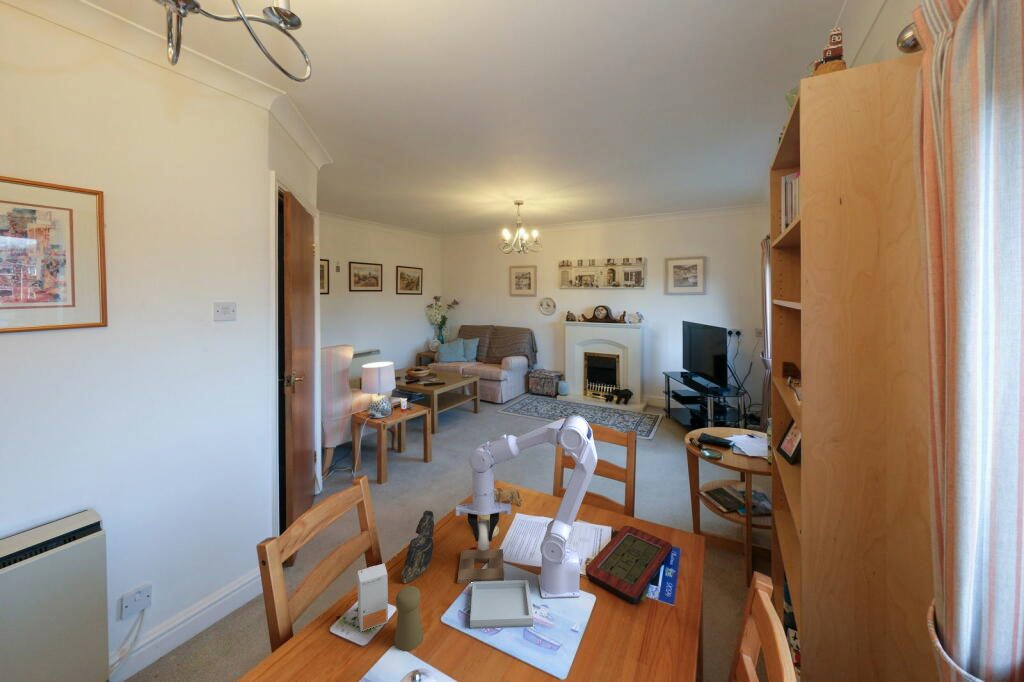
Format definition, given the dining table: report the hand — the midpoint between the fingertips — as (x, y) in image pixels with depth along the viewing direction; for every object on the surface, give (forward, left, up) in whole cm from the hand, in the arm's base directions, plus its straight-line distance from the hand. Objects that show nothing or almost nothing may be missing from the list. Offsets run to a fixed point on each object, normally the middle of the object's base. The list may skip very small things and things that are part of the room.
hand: (483, 539), depth 104 cm
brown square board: (+1, -2, -9) cm, 9 cm away
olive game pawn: (+16, +20, -9) cm, 27 cm away
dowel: (0, 0, -2) cm, 2 cm away
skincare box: (+25, +15, -9) cm, 30 cm away
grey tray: (-4, +12, -9) cm, 16 cm away
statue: (+18, -1, -9) cm, 20 cm away
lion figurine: (-7, -32, -9) cm, 34 cm away
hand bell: (0, -19, -9) cm, 21 cm away
